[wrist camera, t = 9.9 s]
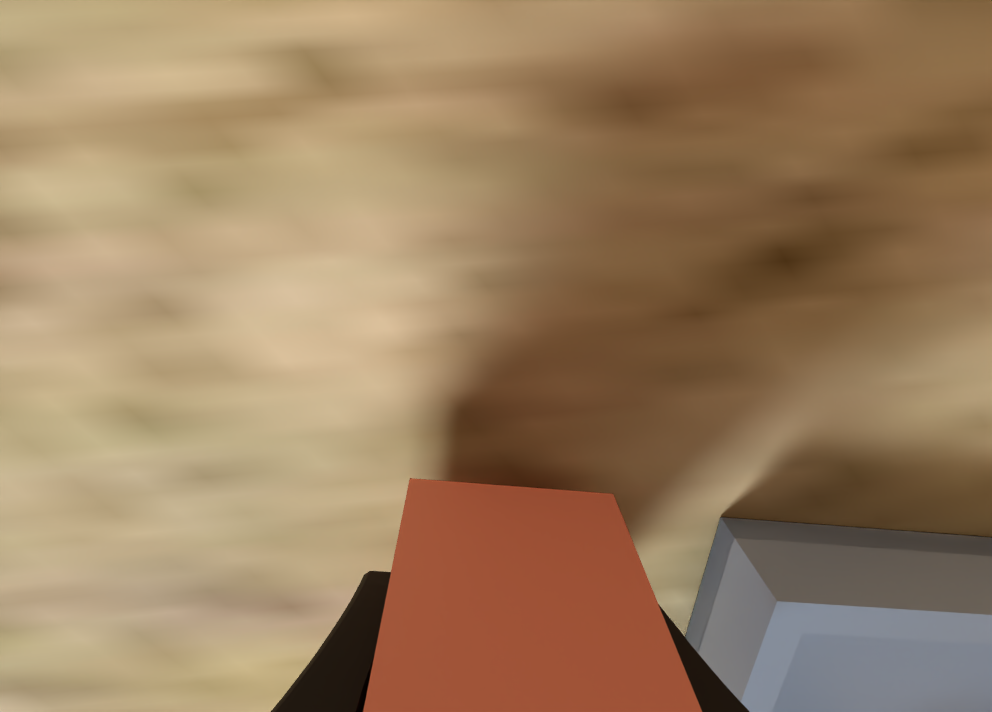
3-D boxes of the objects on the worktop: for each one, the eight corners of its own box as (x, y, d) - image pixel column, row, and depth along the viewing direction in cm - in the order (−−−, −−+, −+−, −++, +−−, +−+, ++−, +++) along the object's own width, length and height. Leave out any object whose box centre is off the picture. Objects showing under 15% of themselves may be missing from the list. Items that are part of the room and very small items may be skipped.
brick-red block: (580, 647, 14) (652, 985, 8) (399, 637, 14) (344, 982, 8) (613, 494, 12) (729, 778, 7) (410, 478, 12) (352, 763, 6)
